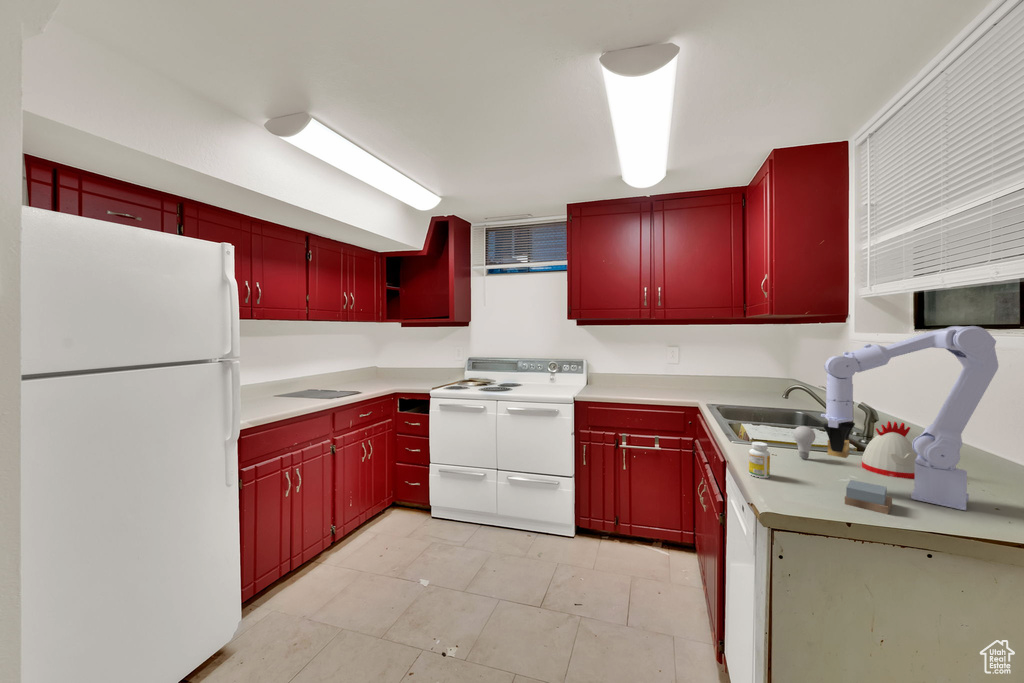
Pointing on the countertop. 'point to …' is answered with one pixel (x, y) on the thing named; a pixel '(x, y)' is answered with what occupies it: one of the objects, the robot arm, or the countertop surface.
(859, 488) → the tower top
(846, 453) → the ochre cube
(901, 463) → the kitchen timer
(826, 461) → the countertop surface
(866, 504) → the tower base
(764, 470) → the supplement bottle
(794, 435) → the lightbulb
